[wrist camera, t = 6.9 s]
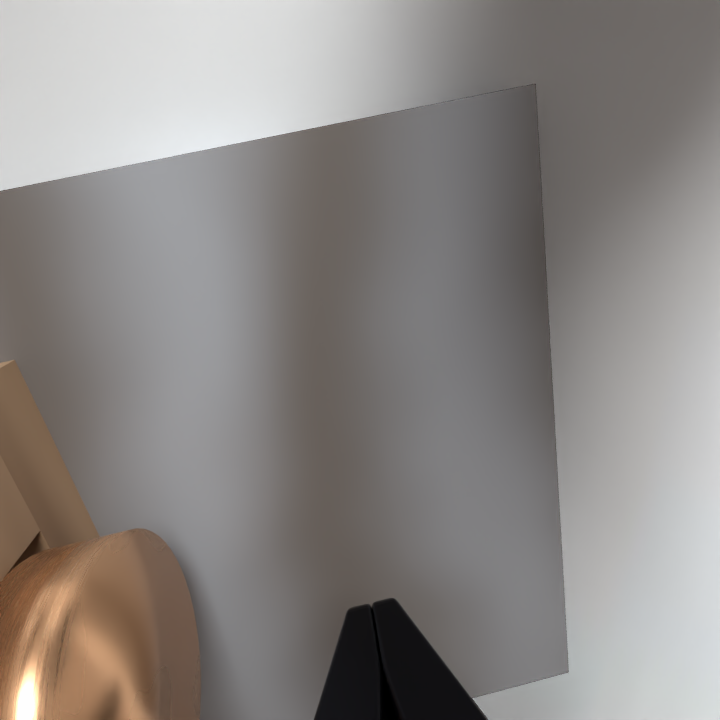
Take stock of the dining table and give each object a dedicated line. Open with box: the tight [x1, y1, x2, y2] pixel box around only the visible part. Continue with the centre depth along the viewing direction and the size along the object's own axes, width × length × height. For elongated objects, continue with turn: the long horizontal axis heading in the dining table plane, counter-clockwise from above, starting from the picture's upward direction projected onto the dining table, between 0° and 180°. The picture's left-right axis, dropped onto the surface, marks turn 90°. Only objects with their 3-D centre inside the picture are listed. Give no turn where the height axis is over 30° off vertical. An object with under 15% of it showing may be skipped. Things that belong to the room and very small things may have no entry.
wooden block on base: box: [0, 84, 569, 720], centre depth 9 cm, size 23×16×8 cm
